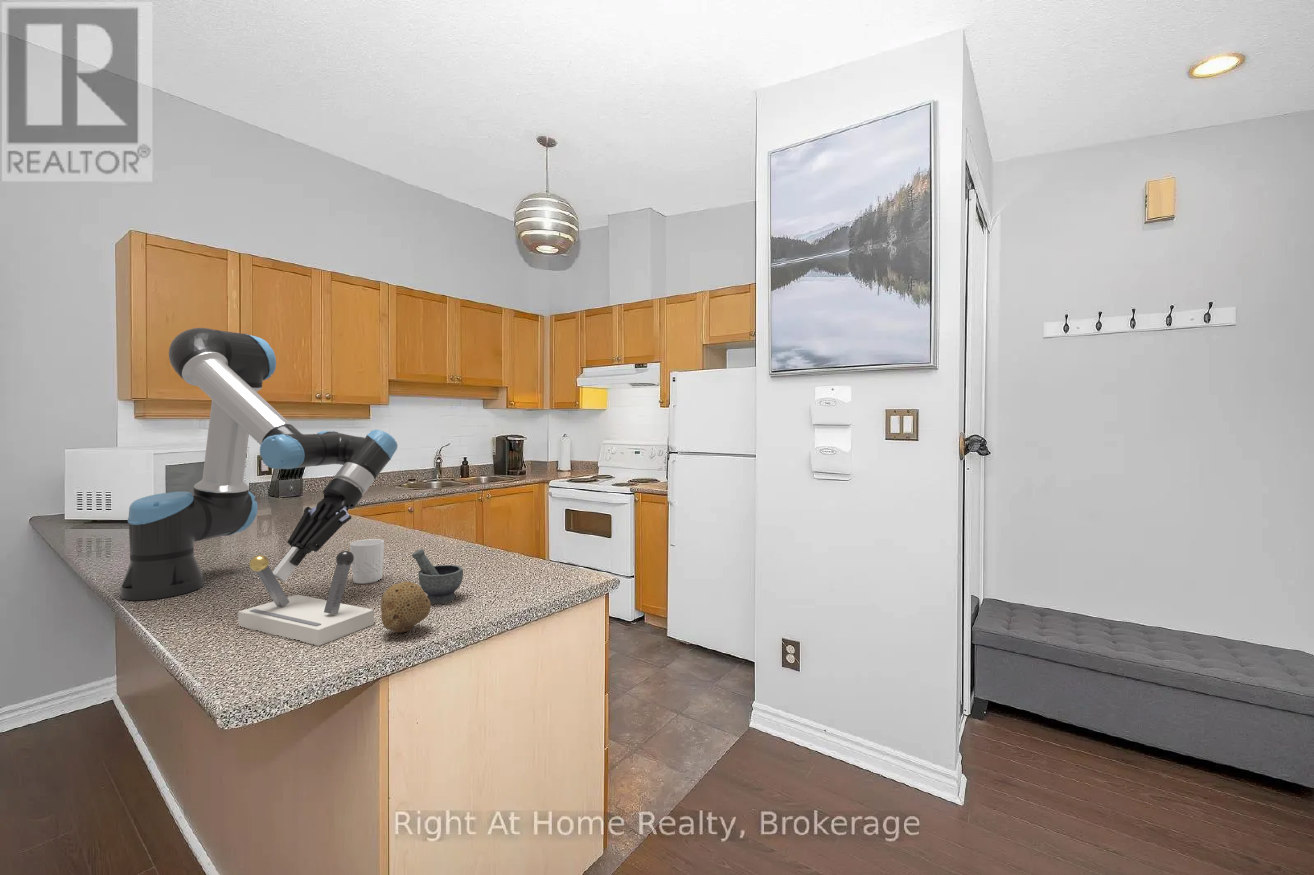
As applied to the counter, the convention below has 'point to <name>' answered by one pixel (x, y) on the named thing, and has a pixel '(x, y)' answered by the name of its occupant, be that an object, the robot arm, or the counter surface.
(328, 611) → the black lever
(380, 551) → the white cup
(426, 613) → the natural sponge
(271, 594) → the brass lever
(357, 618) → the control panel
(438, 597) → the mortar and pestle
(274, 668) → the counter surface
